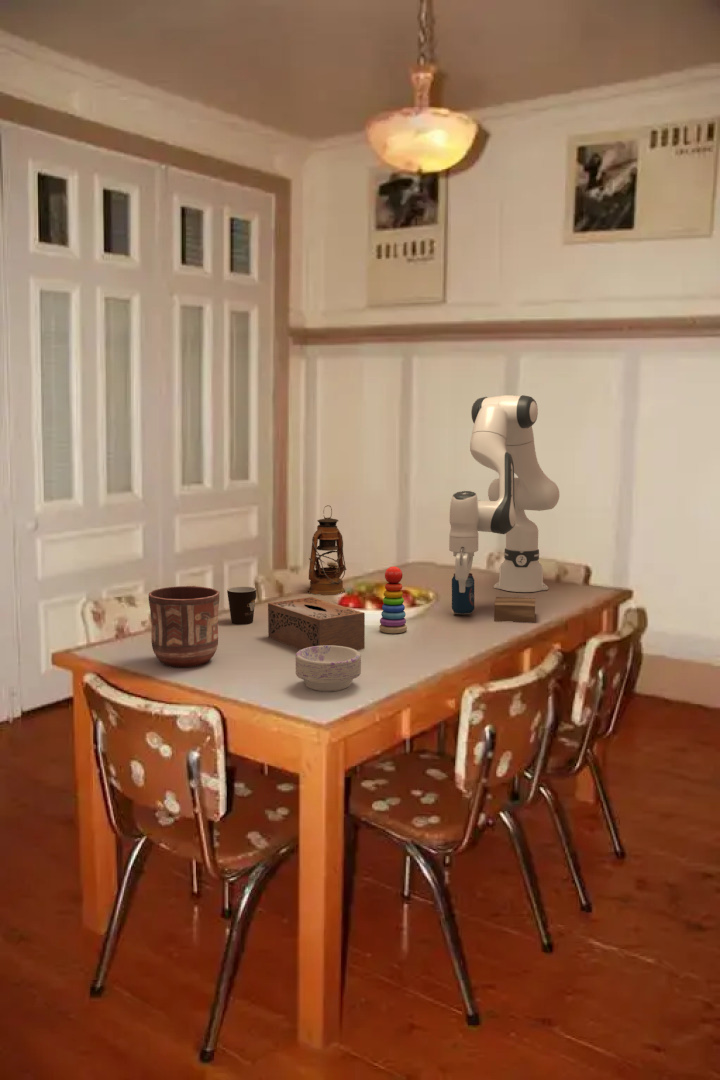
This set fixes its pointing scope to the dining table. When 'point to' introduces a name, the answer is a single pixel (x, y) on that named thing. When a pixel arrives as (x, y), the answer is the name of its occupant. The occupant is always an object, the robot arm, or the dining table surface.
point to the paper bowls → (328, 667)
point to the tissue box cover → (315, 624)
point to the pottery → (184, 625)
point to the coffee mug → (241, 604)
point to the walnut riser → (514, 609)
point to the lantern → (328, 537)
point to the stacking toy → (393, 604)
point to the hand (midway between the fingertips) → (463, 589)
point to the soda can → (463, 596)
